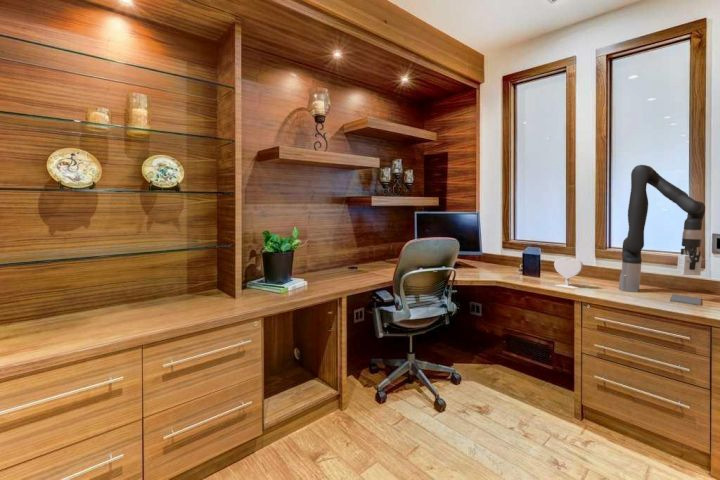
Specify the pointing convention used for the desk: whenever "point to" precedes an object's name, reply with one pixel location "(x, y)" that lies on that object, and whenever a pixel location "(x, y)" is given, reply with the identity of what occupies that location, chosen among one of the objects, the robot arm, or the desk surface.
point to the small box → (685, 263)
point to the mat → (686, 299)
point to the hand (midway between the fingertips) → (688, 268)
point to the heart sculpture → (568, 269)
